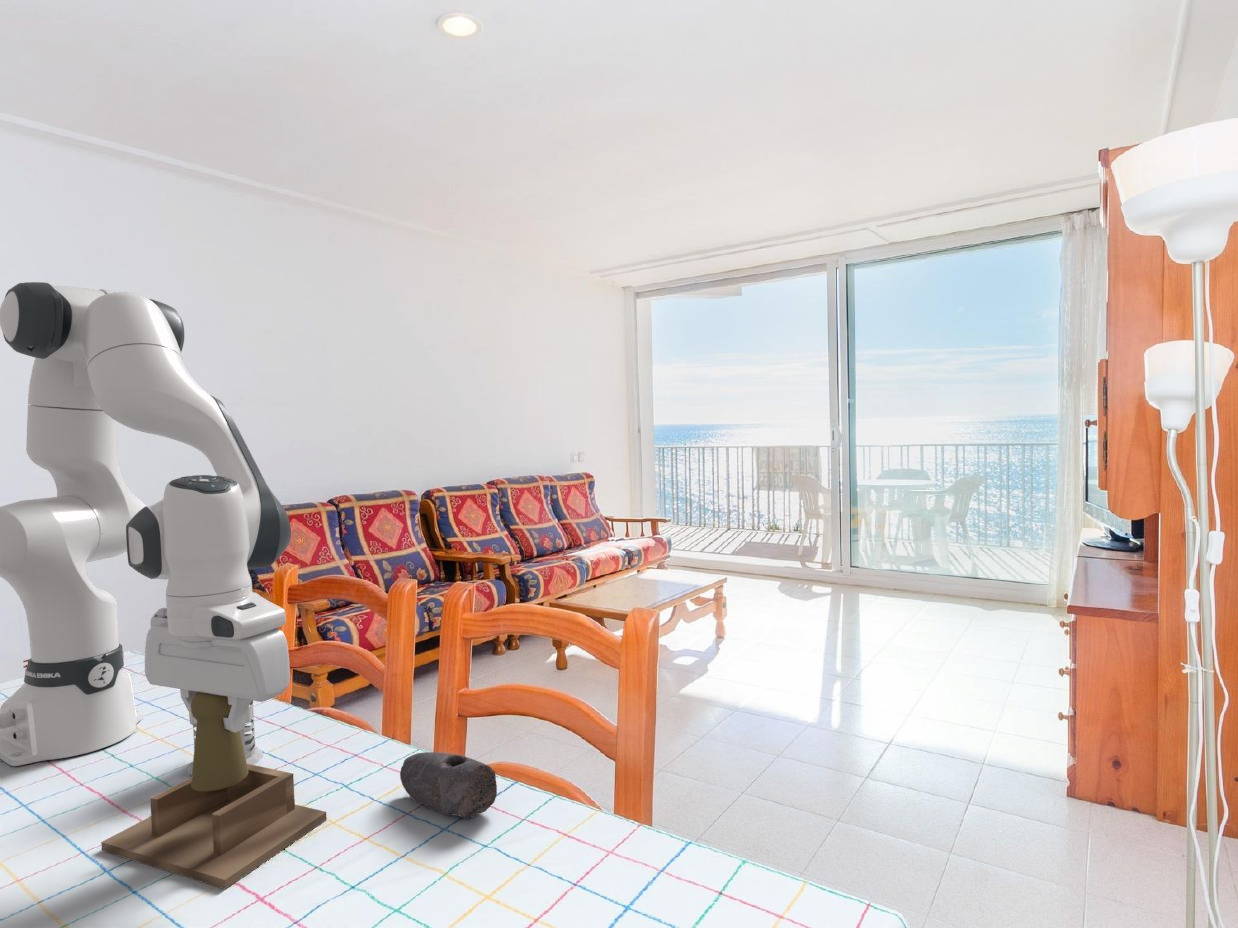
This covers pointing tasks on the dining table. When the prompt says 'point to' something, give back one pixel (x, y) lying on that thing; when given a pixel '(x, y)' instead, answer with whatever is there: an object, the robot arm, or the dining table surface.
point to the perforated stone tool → (449, 783)
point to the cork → (215, 745)
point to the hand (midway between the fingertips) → (217, 726)
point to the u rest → (218, 828)
